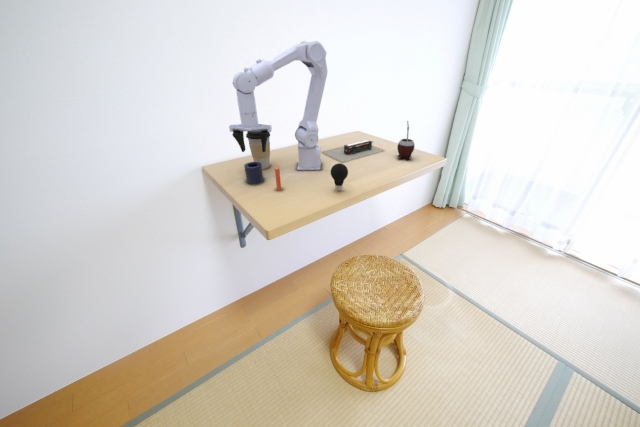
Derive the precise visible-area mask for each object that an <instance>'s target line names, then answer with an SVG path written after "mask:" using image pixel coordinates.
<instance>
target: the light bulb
mask: <svg viewBox="0 0 640 427" xmlns="http://www.w3.org/2000/svg"><path fill="white" fill-rule="evenodd" d="M348 175H349V169H348V167H347V166H346V165H345V164H343V163H341V162H340V163H335V164H334V165H333V166H331V169H330V177H331V178H332V179H333V181H334V189H335V191H337V192H340V191H342V190H343V185H344V182H345V180H346V178H347V177H348Z"/></svg>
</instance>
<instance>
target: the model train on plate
mask: <svg viewBox="0 0 640 427" xmlns="http://www.w3.org/2000/svg"><path fill="white" fill-rule="evenodd" d="M373 143H374V141H372V140H369V139H366V140H365V139H364V140H360V141H356V142H351V143H348V144H344V146H343V147H340V148H336V149H331V150H327V151H323V154H325V155H326V156H329V157H330V158H333V159H335V160H337V161H339V162H340V163H344V162H348V161H351V160H354V159H359V158H362V157H366V156H368V155H369V156H370V155H372V154H376V153H380V152H383V150H382V149H380V148H377V147H374V146H373Z"/></svg>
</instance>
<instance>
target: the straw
mask: <svg viewBox="0 0 640 427" xmlns="http://www.w3.org/2000/svg"><path fill="white" fill-rule="evenodd" d="M274 174H275V183H276V184H275V185H276V191H281V190H282V182H281V173H280V165H279V164H275V165H274Z"/></svg>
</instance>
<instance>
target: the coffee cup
mask: <svg viewBox="0 0 640 427" xmlns="http://www.w3.org/2000/svg"><path fill="white" fill-rule="evenodd" d="M260 133H261V131H246V134H245V137H246V139H247V141H248V146H249V149H250V153H251V157H252V159H253V162H260V163H261V165H262V170H266V169H269V168H270V166H271V165H270V164H271V159H270V158H271V157H270V156H271V142H270V137H271V132H269V135H268V138H267V142H266V151H265V152H263V151H262V143H261V138H260Z"/></svg>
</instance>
